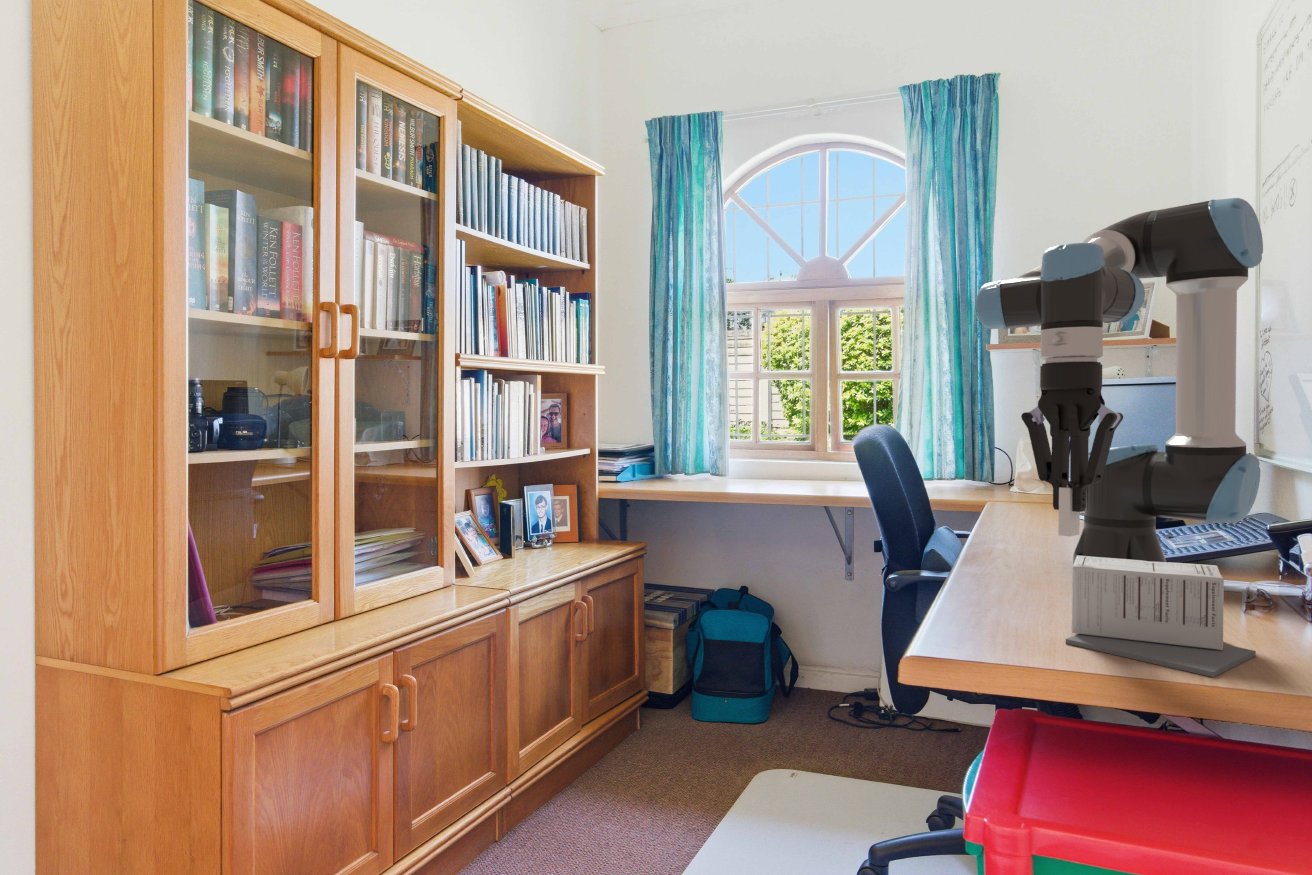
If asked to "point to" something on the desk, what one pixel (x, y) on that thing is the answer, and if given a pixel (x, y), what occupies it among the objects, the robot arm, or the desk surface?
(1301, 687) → the desk surface
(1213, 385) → the robot arm
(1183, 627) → the supplement box
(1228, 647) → the mat
